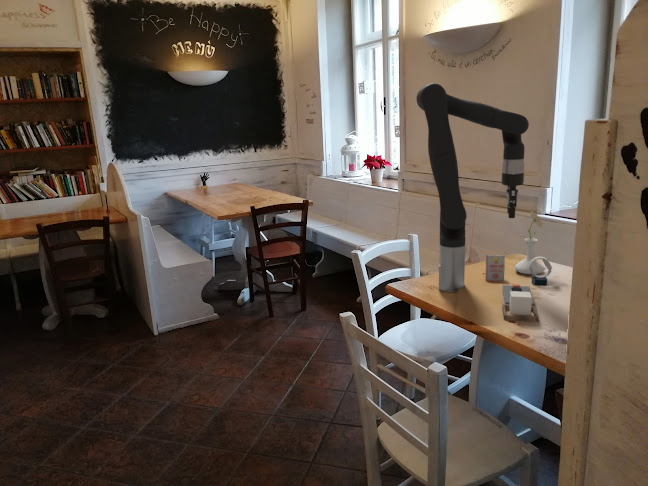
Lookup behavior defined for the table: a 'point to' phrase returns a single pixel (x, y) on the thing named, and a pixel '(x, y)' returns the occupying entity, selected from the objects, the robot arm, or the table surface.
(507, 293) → the power strip
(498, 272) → the tea box
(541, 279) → the watch
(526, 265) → the flower in vase
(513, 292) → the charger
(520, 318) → the tray
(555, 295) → the table surface
